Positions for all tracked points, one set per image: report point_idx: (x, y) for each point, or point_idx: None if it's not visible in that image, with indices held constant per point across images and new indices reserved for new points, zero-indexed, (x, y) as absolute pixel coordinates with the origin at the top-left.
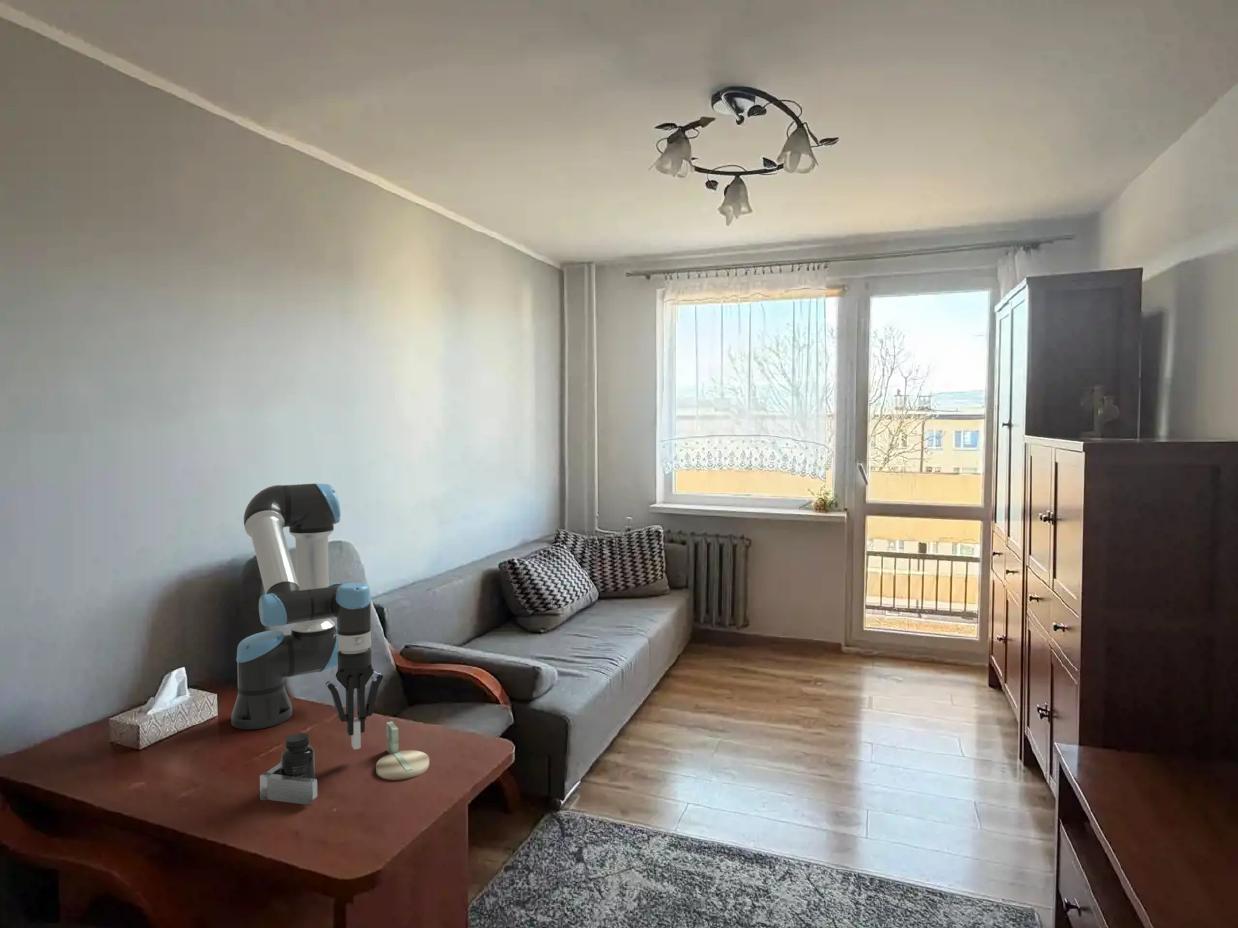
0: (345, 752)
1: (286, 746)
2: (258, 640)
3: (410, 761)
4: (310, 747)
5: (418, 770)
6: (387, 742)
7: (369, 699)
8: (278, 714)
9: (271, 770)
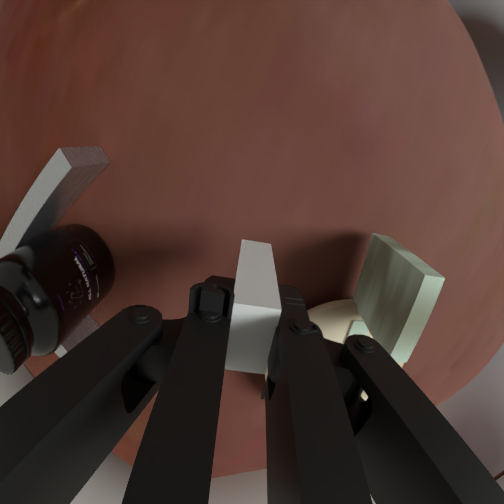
0: (269, 102)
1: None
2: None
3: None
4: (43, 337)
5: None
6: (382, 253)
7: (377, 461)
8: None
9: (2, 250)
